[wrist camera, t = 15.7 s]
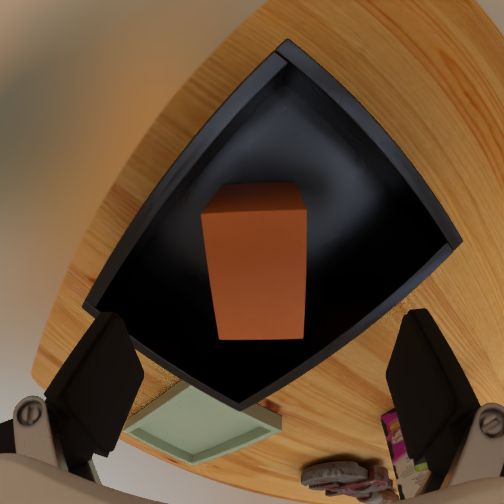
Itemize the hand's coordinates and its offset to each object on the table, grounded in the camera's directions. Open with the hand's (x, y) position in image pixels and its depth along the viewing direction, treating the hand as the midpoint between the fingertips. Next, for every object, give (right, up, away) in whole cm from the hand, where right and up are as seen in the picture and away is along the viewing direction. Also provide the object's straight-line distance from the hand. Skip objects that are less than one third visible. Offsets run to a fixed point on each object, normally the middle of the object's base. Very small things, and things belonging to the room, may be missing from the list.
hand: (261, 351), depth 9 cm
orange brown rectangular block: (0, +4, +10) cm, 11 cm away
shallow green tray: (-7, -17, +22) cm, 29 cm away
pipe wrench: (+23, -41, +31) cm, 56 cm away
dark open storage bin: (0, +5, +11) cm, 12 cm away
